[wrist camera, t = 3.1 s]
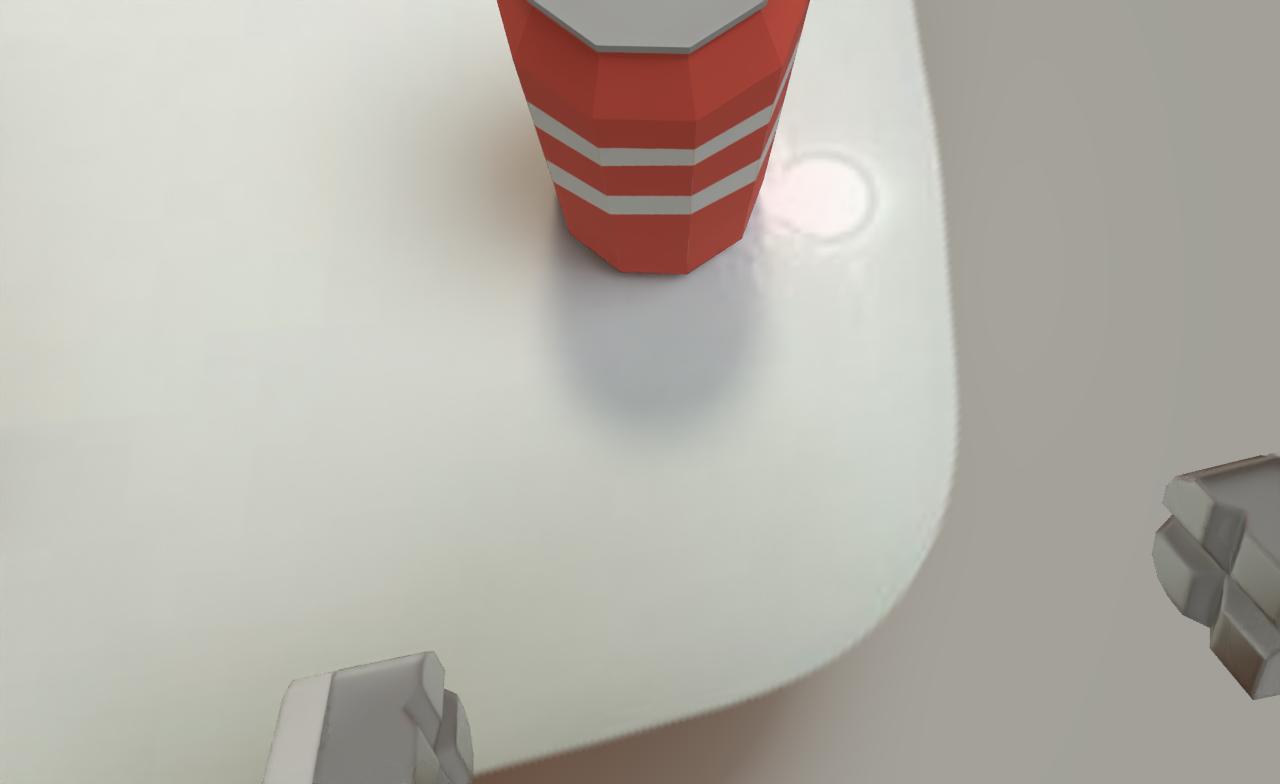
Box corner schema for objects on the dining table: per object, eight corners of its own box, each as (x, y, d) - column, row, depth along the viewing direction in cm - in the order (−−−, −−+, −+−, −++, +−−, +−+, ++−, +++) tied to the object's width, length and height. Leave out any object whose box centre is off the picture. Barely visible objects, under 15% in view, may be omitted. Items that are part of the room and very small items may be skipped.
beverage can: (723, 69, 28) (762, -276, 16) (782, 254, 27) (870, 30, 15) (538, 119, 28) (442, -190, 16) (590, 307, 27) (528, 124, 15)
